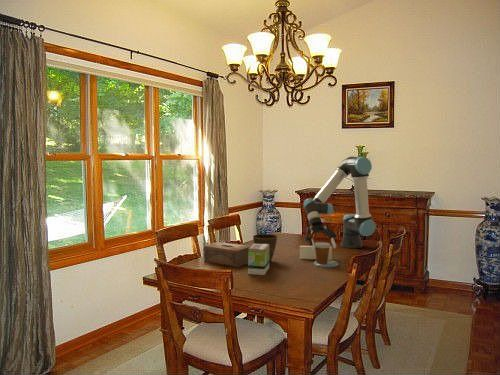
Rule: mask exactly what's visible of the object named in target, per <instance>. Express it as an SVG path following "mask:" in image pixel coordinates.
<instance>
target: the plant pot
mask: <svg viewBox="0 0 500 375" xmlns="http://www.w3.org/2000/svg"><path fill="white" fill-rule="evenodd" d="M252 237H253V244H269V263H271V262H272V259H273V257H274V255H275V250H276V245H277V240H278V236H277V235H276V234H268V233H260V234H254V235H253V236H252Z"/></svg>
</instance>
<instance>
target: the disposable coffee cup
mask: <svg viewBox="0 0 500 375" xmlns="http://www.w3.org/2000/svg"><path fill="white" fill-rule="evenodd" d="M314 245H315V251H316V259H315V261H317V263H318V264H327V261H328V254H329V248H330V247H331V244H330V242H326V241H317V242H316V241H315V242H314Z"/></svg>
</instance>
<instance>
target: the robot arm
mask: <svg viewBox="0 0 500 375" xmlns="http://www.w3.org/2000/svg"><path fill="white" fill-rule="evenodd" d="M372 168H373V167H372V161H371V160H370V159H369V158H368V157H365V156H348V157H346V158H345V159H343V160H342V161H341V162H340V163H339V165H338V166H337V167H336V168H335V171H334V173H333V174H332V175H331V176H330V178H329V179H328V180H327V181H326V183H325V184H324V185H323V186H322V187H321V189H320V190H319V191H318V193H316V195H315V196H314V197H313V198H307V199H305V200H304V201H303V208H304V211H305V213H306V214H305V215H306V216H307V220H308V222H309V225H308V226H307V227H306V234H305V239H304V241H306V242H308V244H309V246H312V249H313V251H314V250H315V242H314V240H313V236H314V235H315V234H322V235H323V234H324V235H325V236H326V237H327V238H329V239H330V242H331V246H332V249H333V250H335V249H336V248H337V244H336V242H337V241H336V238H337V237H338V236H337V234H336V233H335V232H334V231H333V230H332V229H331V228H330V227H329V225H328V224H326V225H323V221H322V218H321V216H320V215H325V216H328V215H329V216H330V215H332V214H333V213H334V206H333V204H331V203H329V202H326V201H327V200H328V199H329V198H330V196H331V195H332V194H333V193H334V191H335V190H336V189H337V188H338V187H339V185H340V184H341V183H342V181H343V180H344V179H346V178H347V177H348V176H350V177H351V178H352V180H353V187H354V201H355V214H353V213H352V214H344V216H343V219H342V221H343V222H342V223H343V225H342V229H343V232H342V233H343V235H342V239H341V241H340V246H341V248H346V249H361V248H363V242H362V238H361V236H363V237H369V236H371V235H372V234H373V233H374V232H375V230H376V228H377V225H376V222H375V221H374V220H373V216H372V214H371V213H370V208H369V207H370V206H369V193H368V192H369V191H368V180H367V179H368V178H369V176H370V172H371V171H372ZM311 230H312V232H311ZM310 232H311V234H310Z"/></svg>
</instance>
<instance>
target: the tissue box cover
mask: <svg viewBox="0 0 500 375" xmlns="http://www.w3.org/2000/svg"><path fill="white" fill-rule="evenodd" d="M251 246H252V245H244V244H237V243H229V242H224V241H223V242H222V241H216V242H212V243H209V244H206V245H203V255H204V256H203V257H204V258H203V259H204V260H203V261H204V262H208V263H214V264H219V265H224V264H225V266H229V265H230V266H231V267H235V268H238V267H240V266H243V265H246V264H248V249H249V248H250V247H251Z"/></svg>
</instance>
